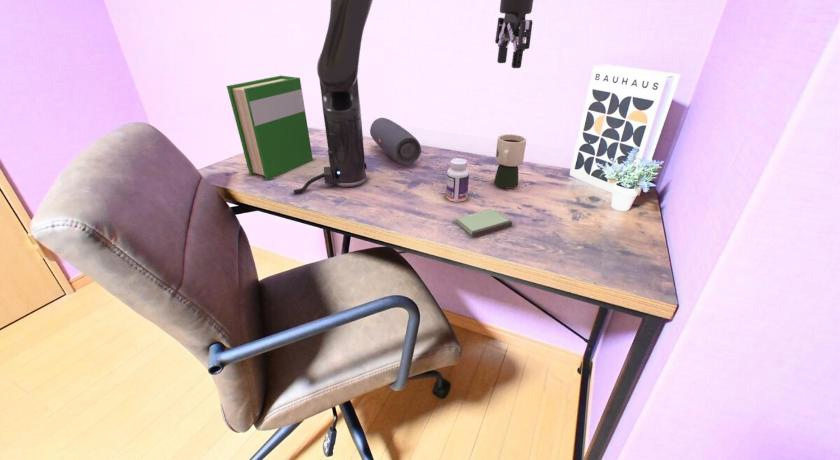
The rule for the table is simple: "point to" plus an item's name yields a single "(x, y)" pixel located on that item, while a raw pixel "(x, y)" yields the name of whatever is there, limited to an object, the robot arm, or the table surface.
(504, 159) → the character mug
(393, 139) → the bluetooth speaker
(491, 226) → the notebook
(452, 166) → the pill bottle
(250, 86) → the hardback book
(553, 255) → the table surface
